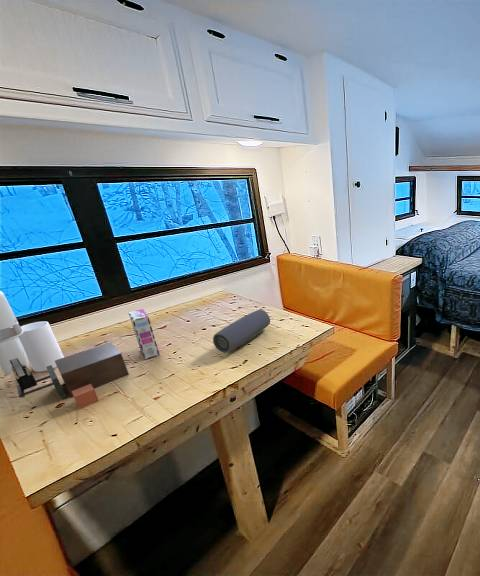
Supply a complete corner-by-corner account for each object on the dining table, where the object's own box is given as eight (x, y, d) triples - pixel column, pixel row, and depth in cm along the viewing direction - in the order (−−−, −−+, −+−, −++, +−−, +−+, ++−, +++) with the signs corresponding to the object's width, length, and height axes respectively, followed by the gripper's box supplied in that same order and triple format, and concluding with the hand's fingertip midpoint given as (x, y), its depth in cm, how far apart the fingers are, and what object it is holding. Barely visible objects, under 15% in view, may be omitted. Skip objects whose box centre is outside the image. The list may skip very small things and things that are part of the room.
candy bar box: (161, 355, 117) (148, 316, 112) (145, 360, 114) (131, 321, 108) (155, 344, 125) (143, 308, 119) (140, 349, 121) (127, 312, 116)
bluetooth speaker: (256, 327, 137) (252, 307, 134) (273, 330, 134) (269, 309, 131) (214, 353, 117) (209, 330, 114) (233, 357, 114) (228, 334, 111)
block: (79, 409, 90) (74, 397, 89) (76, 402, 93) (71, 391, 91) (99, 400, 93) (94, 389, 92) (95, 395, 96) (90, 383, 94)
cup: (49, 371, 108) (30, 331, 103) (26, 372, 108) (6, 332, 103) (71, 358, 116) (55, 321, 111) (50, 359, 116) (32, 321, 111)
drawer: (26, 411, 88) (15, 392, 86) (22, 395, 95) (12, 377, 93) (115, 376, 103) (109, 359, 101) (107, 364, 110) (100, 348, 108)
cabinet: (71, 397, 95) (60, 374, 92) (64, 382, 102) (54, 360, 99) (128, 374, 106) (121, 353, 103) (118, 362, 113) (111, 342, 110)
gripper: (-21, 331, 87) (9, 383, 93) (-20, 347, 78) (12, 404, 85) (18, 321, 92) (44, 371, 99) (23, 335, 84) (51, 389, 90)
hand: (29, 386), depth 92 cm, fingers closed
